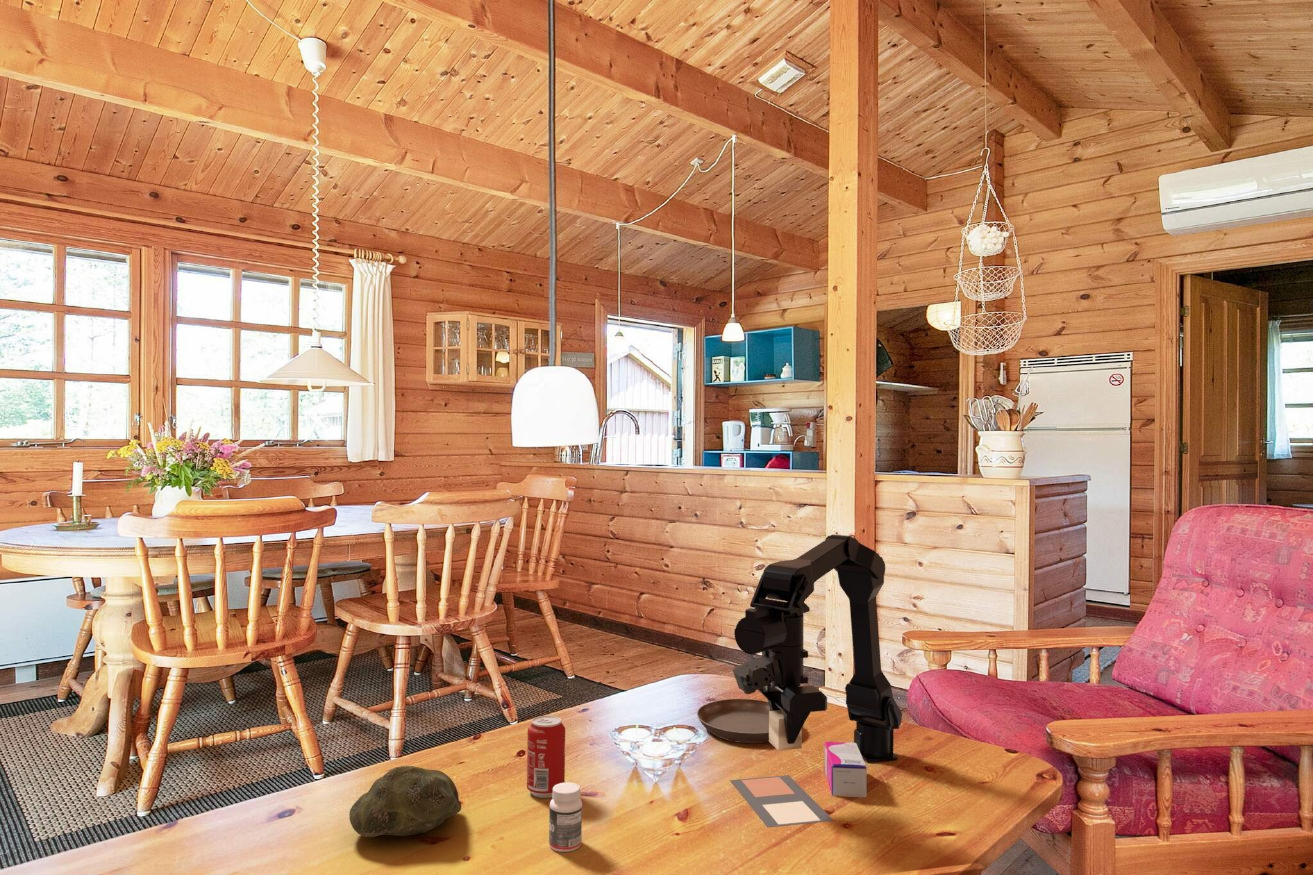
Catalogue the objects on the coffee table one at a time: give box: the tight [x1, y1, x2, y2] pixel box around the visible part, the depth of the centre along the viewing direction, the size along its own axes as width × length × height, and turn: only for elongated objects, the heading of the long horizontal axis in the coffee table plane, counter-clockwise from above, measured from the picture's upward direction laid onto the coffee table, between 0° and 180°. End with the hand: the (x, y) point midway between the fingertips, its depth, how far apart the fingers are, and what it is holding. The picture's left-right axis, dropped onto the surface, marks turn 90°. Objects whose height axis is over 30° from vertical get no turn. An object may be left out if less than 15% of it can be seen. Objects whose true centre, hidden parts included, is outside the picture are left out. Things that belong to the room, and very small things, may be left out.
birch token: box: [769, 710, 803, 751], centre depth 132 cm, size 4×4×5 cm
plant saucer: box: [696, 698, 771, 744], centre depth 170 cm, size 21×21×3 cm
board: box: [729, 774, 835, 828], centre depth 134 cm, size 11×18×1 cm, turn 14°
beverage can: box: [526, 715, 566, 799], centre depth 137 cm, size 6×6×12 cm
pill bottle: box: [548, 781, 583, 853], centre depth 119 cm, size 5×5×8 cm
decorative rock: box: [349, 765, 462, 838], centre depth 123 cm, size 15×16×10 cm
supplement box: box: [824, 741, 868, 798], centre depth 141 cm, size 6×6×12 cm
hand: (785, 738), depth 132 cm, fingers closed on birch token, 4 cm apart
